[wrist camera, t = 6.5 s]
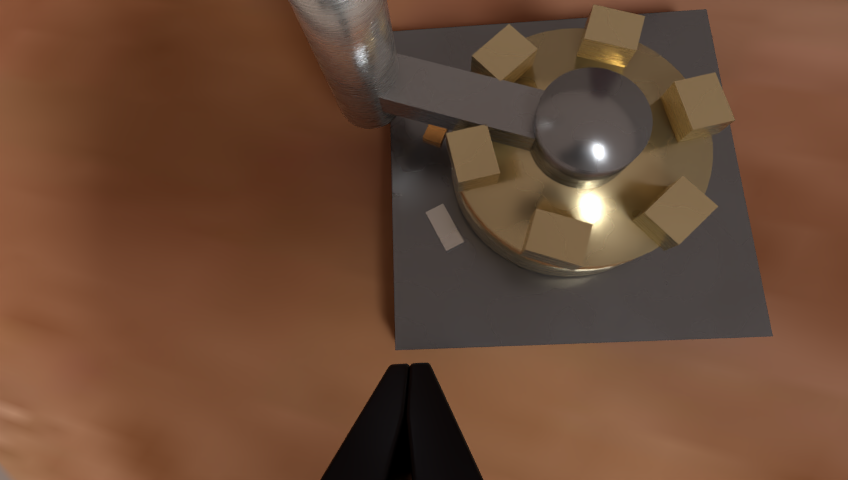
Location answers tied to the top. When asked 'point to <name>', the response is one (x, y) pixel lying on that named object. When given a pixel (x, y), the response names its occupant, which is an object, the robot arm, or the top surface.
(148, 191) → the top surface
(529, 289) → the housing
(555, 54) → the crank mechanism
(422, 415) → the robot arm
